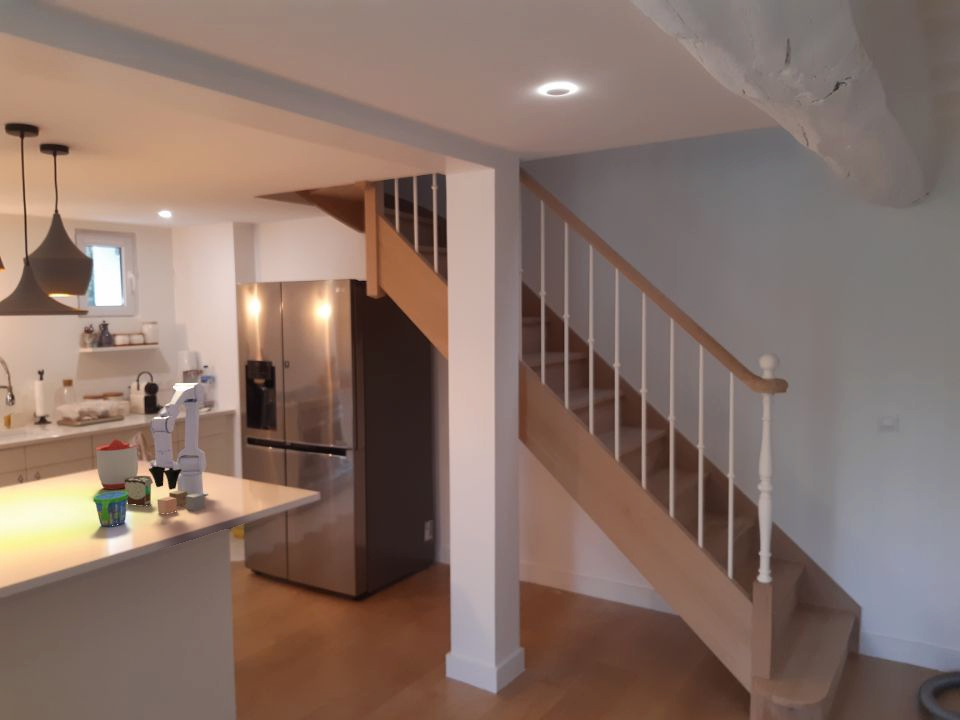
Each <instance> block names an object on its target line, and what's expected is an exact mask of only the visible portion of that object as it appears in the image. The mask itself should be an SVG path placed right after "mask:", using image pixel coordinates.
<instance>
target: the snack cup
mask: <svg viewBox="0 0 960 720" xmlns="http://www.w3.org/2000/svg"><path fill="white" fill-rule="evenodd" d="M92 499H93V502H94V504H95V506H96V511H97V512H96V513H97V516H98V519H99V523H100V525H103V526H102V527H105V526H110V527H113V526H112V525H117V524H120V525H122V524H123V522H124V523H125V521H126V515H127V514H126V513H127V507H128V506H127V505H128V504H127V499H128V492H126V490H125V491H123V490H117V491H116V490H115V491H105V492H102V493H99V494H96V495H94V496H93V498H92ZM121 523H122V524H121ZM117 526H118V525H117Z"/></svg>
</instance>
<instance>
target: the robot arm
mask: <svg viewBox="0 0 960 720" xmlns="http://www.w3.org/2000/svg"><path fill="white" fill-rule="evenodd" d="M203 403H204V387H203V385H202V384H201V382H189V383H188V382H187V383H186V382H185V383H184V382H183V383H176V382H175V384H174V385H173V388H172V397H171V400H170V402H169V403H167V404H166V403H165V405H164V406H163V408H162V409H161V411H160V412H159V413H158V415H157V416H155V417H153V418H152V419H151V420H150V423H149V424H150V426H149V428H150V431H151V435H152V436H151V438H153V440H154V456H155V459H154V460H150V463H149V464H150V465H149V466H150V468H148V471H149V472H150V474H151V476H152V477H153V478H152V479H153V480H154V483H155V486H156V488H160V487H163V486H164V476H166V480H167V485H168V489H169V490H173V489H177V491H178V490H182V491H187V493H188V495H191V494H195V493H198V494H204V496H207V495H209V493H208V492H204V486H203V485H204V483H203V473H204V471H206V469H207V459H206V458H207V457H206V452H205V451H204V450H202V449H200V447H199V432H200V431H199V429H200V428H199V427H200V406H201V405H203ZM181 406H184V408H185V422H184V423H185V424H184V425H185V426H184V448H182V450H180V452H178V454H177V459H176V461H174V455H173V454H174V453H173V438H172V433H173V431H174V429H175V424H176V419H177V418H178V416H179V414H180V407H181Z"/></svg>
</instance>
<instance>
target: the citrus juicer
mask: <svg viewBox="0 0 960 720" xmlns="http://www.w3.org/2000/svg"><path fill="white" fill-rule="evenodd" d="M95 451H96V452H95V453H96V465H97V474H98V477H99V480H100V483H101V485H102V487H103V488H104V489H106V490H114V489H116V490H119V489H125V483H123V480H124V478H126V477H132V476H138V473H139V472H138V470H139V461H138V460H139V459H138V457H139V456H140V455H141V452H140V451H139V450H138V444H137V443H135V444H134V445H132V446H130V443H129V442H122V441H121V440H119V439H118V438H115V439H114V440H112V442H111V443H110V444H104V445H100V446H97V447H95Z"/></svg>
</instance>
